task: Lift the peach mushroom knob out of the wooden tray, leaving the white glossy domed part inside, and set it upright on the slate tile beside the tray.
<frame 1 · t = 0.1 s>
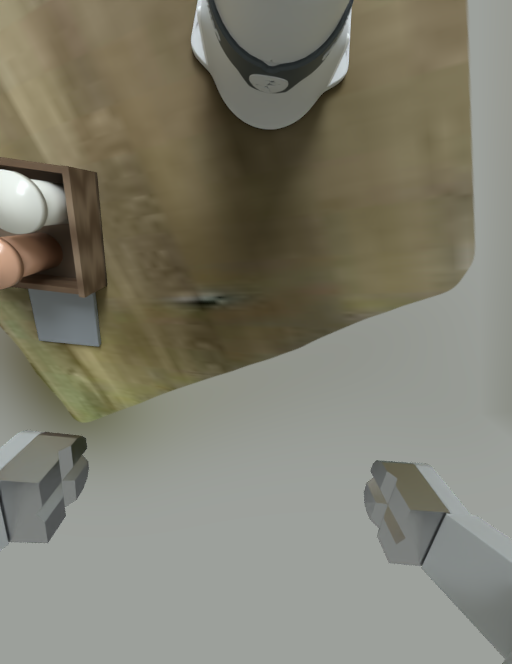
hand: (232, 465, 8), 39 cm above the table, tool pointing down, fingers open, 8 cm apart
peach mushroom knob: (44, 250, 42), point 1 cm above the table, touching wooden tray
slate tile: (67, 315, 47), on the table
white glossy domed part: (65, 203, 40), point 1 cm above the table, touching wooden tray
wooden tray: (46, 226, 41), on the table
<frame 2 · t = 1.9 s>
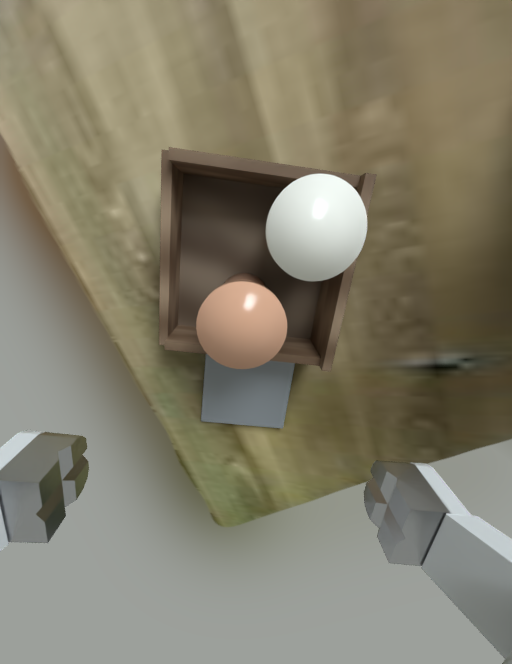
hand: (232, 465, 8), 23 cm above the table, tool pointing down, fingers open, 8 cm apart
peach mushroom knob: (244, 298, 29), point 1 cm above the table, touching wooden tray
slate tile: (247, 385, 33), on the table
white glossy domed part: (293, 232, 27), point 1 cm above the table, touching wooden tray
wooden tray: (252, 264, 29), on the table
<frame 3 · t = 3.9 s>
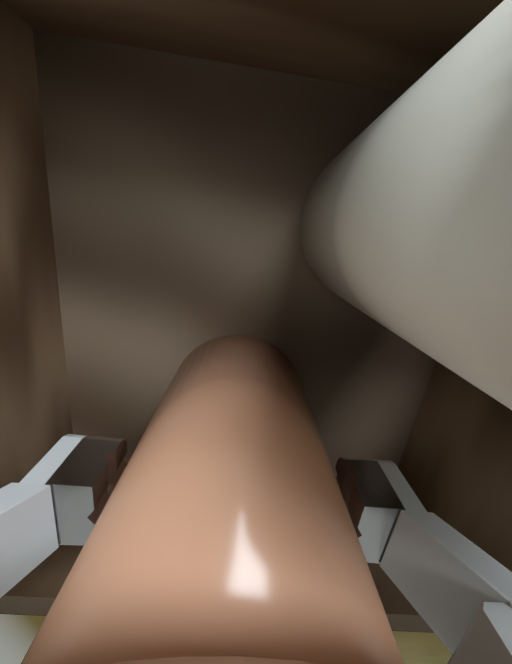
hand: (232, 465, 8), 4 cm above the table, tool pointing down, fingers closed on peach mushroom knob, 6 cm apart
peach mushroom knob: (237, 395, 11), point 1 cm above the table, touching wooden tray, gripper
white glossy domed part: (376, 226, 9), point 1 cm above the table, touching wooden tray
wooden tray: (260, 310, 11), on the table
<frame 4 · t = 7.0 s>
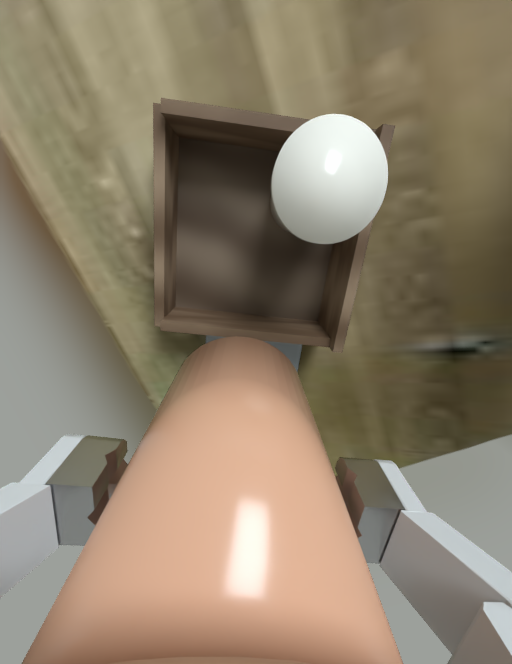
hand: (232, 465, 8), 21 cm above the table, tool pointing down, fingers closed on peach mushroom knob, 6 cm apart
peach mushroom knob: (237, 396, 11), point 18 cm above the table, touching gripper
slate tile: (250, 372, 31), on the table
white glossy domed part: (299, 202, 25), point 1 cm above the table, touching wooden tray
wooden tray: (255, 239, 26), on the table
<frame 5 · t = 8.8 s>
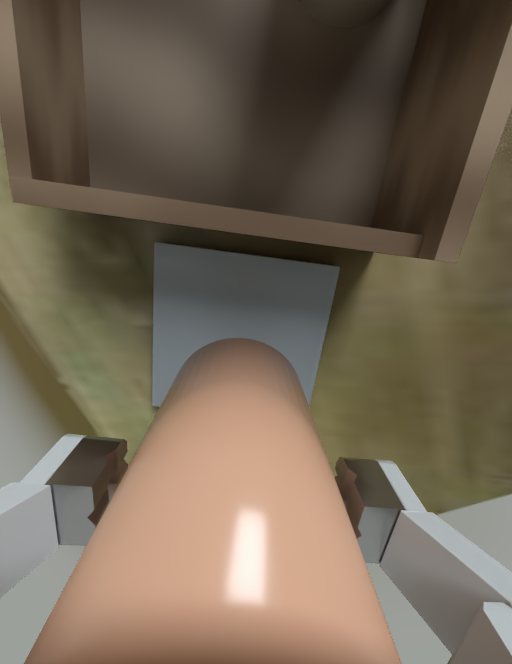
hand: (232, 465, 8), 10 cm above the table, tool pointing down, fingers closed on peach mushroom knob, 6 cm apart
peach mushroom knob: (237, 398, 11), point 6 cm above the table, touching gripper
slate tile: (239, 337, 17), on the table
wooden tray: (251, 47, 13), on the table
when the fingers open (6 cm above the table, at t = 10.2 s): peach mushroom knob drops 1 cm, resting on slate tile.
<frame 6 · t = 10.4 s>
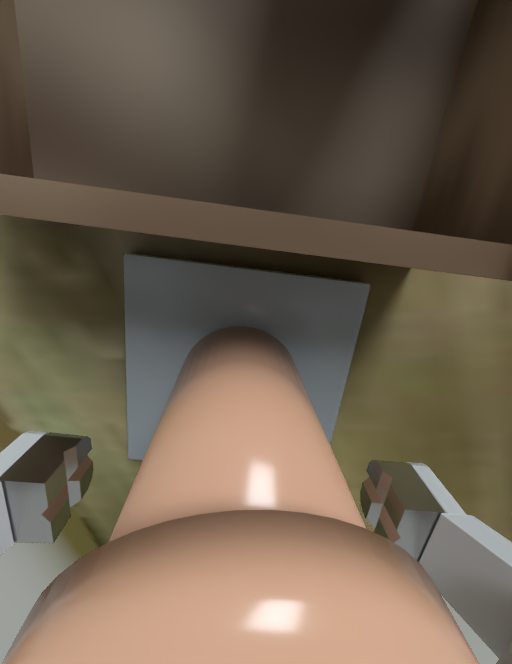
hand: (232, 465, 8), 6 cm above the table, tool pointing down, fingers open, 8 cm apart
peach mushroom knob: (239, 380, 13), point 1 cm above the table, touching slate tile
slate tile: (238, 372, 14), on the table
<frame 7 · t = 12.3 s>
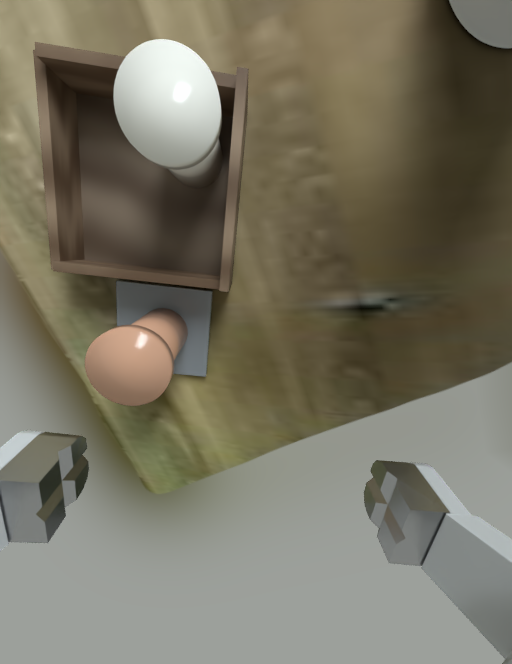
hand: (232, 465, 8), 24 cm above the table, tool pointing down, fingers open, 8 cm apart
peach mushroom knob: (164, 331, 31), point 1 cm above the table, touching slate tile
slate tile: (165, 329, 32), on the table
white glossy domed part: (195, 157, 27), point 1 cm above the table, touching wooden tray
wooden tray: (158, 194, 28), on the table
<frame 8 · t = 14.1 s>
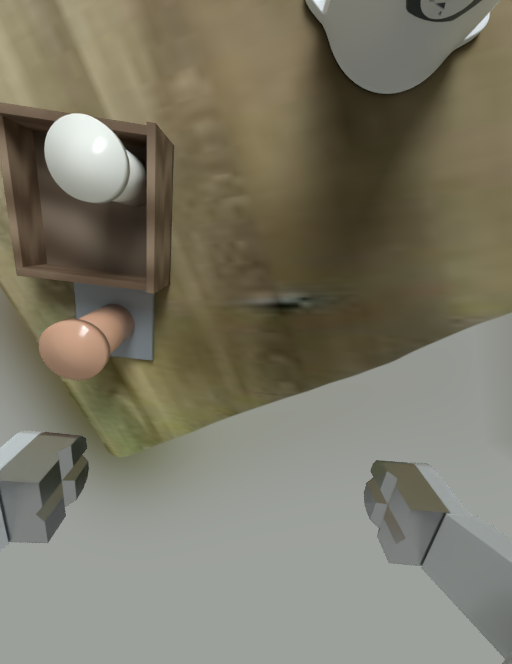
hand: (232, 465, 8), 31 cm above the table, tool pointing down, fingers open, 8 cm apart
peach mushroom knob: (115, 322, 38), point 1 cm above the table, touching slate tile
slate tile: (117, 321, 39), on the table
white glossy domed part: (132, 182, 33), point 1 cm above the table, touching wooden tray
wooden tray: (105, 210, 34), on the table
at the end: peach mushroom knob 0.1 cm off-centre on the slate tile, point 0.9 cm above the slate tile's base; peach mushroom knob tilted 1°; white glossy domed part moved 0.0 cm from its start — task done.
